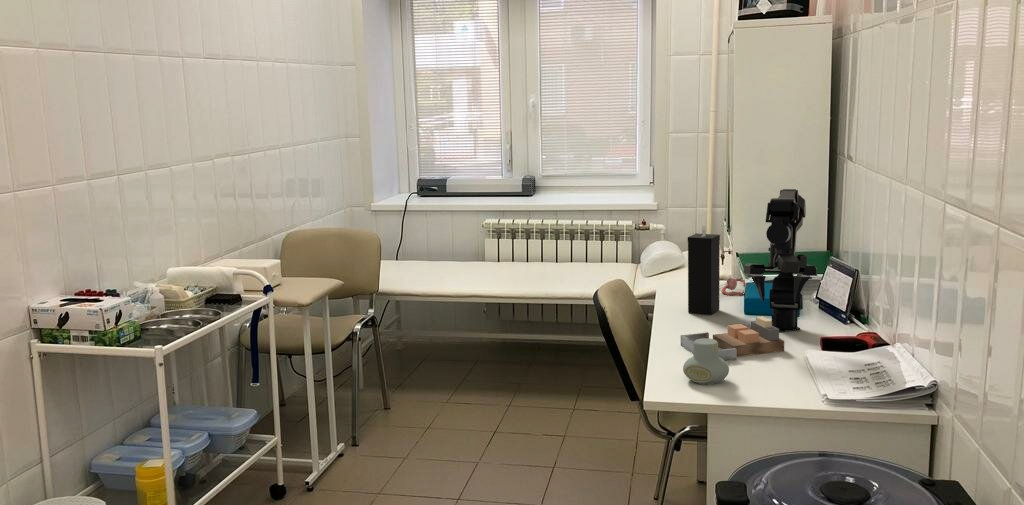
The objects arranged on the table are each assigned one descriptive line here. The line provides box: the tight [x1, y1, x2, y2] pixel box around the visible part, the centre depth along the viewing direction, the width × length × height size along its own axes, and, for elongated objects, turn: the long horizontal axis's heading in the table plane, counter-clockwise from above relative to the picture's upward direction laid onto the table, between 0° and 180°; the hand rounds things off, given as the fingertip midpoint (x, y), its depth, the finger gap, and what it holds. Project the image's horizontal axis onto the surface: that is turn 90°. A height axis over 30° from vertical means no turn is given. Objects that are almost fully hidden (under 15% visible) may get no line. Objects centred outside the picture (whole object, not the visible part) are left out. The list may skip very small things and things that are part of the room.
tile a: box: [727, 323, 749, 338], centre depth 236 cm, size 4×4×2 cm
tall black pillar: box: [687, 225, 721, 316], centre depth 272 cm, size 8×8×28 cm
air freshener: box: [682, 338, 730, 386], centre depth 208 cm, size 11×8×10 cm
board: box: [712, 332, 785, 357], centre depth 234 cm, size 15×12×3 cm
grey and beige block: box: [750, 315, 780, 341], centre depth 234 cm, size 3×10×5 cm, turn 13°
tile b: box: [738, 328, 759, 344], centre depth 230 cm, size 4×4×2 cm
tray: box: [680, 332, 738, 362], centre depth 231 cm, size 8×17×3 cm, turn 13°
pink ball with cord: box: [719, 277, 745, 296], centre depth 296 cm, size 21×9×25 cm
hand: (779, 301), depth 234 cm, fingers open, 9 cm apart
